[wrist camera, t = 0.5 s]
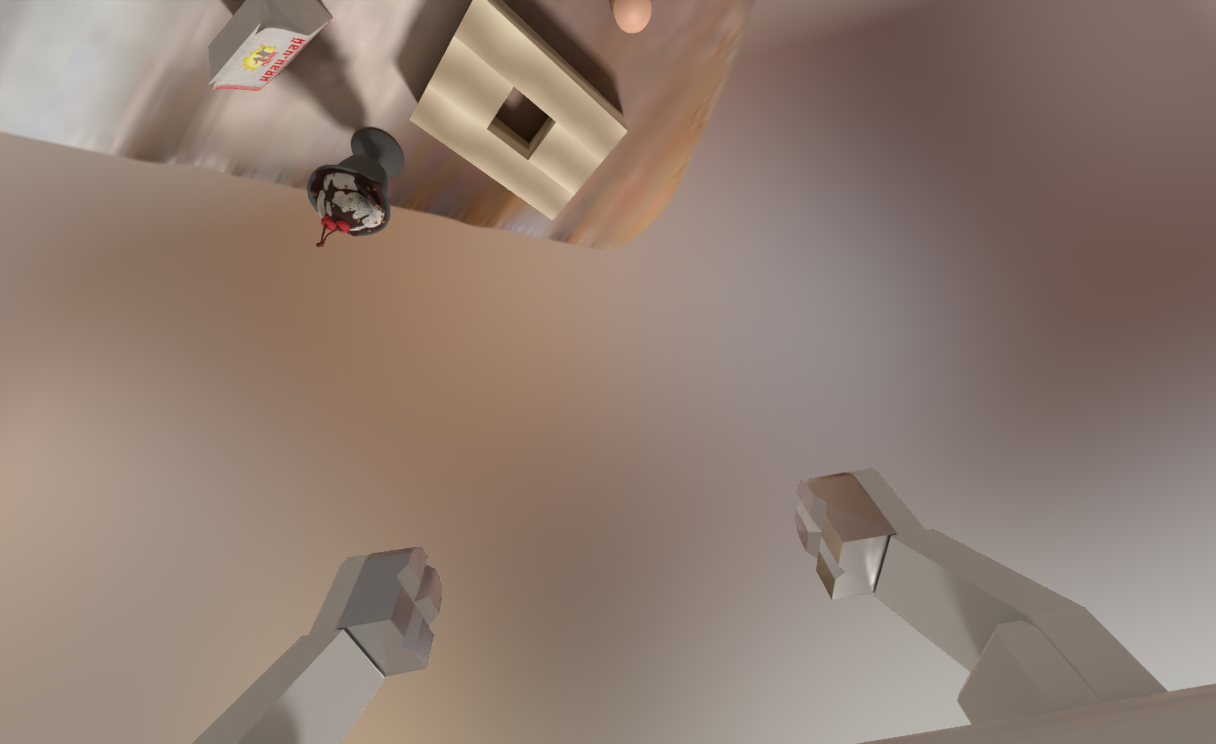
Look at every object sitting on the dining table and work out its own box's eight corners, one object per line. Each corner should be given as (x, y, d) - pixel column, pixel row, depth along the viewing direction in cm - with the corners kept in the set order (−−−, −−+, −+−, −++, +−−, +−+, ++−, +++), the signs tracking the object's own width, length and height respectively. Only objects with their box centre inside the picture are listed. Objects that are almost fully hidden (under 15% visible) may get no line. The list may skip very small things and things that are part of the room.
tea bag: (242, 26, 40) (180, 62, 33) (290, -31, 37) (233, -4, 30) (285, 68, 42) (235, 109, 35) (332, 17, 40) (288, 51, 33)
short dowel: (626, -33, 39) (632, -24, 36) (652, -3, 40) (659, 8, 38) (603, 2, 40) (606, 13, 38) (628, 29, 42) (633, 42, 39)
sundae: (343, 174, 49) (291, 256, 39) (341, 109, 45) (280, 183, 35) (410, 192, 51) (376, 275, 41) (414, 132, 47) (377, 208, 37)
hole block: (482, -19, 39) (477, -9, 36) (623, 115, 47) (627, 131, 44) (417, 103, 45) (409, 119, 42) (552, 201, 53) (552, 220, 51)
